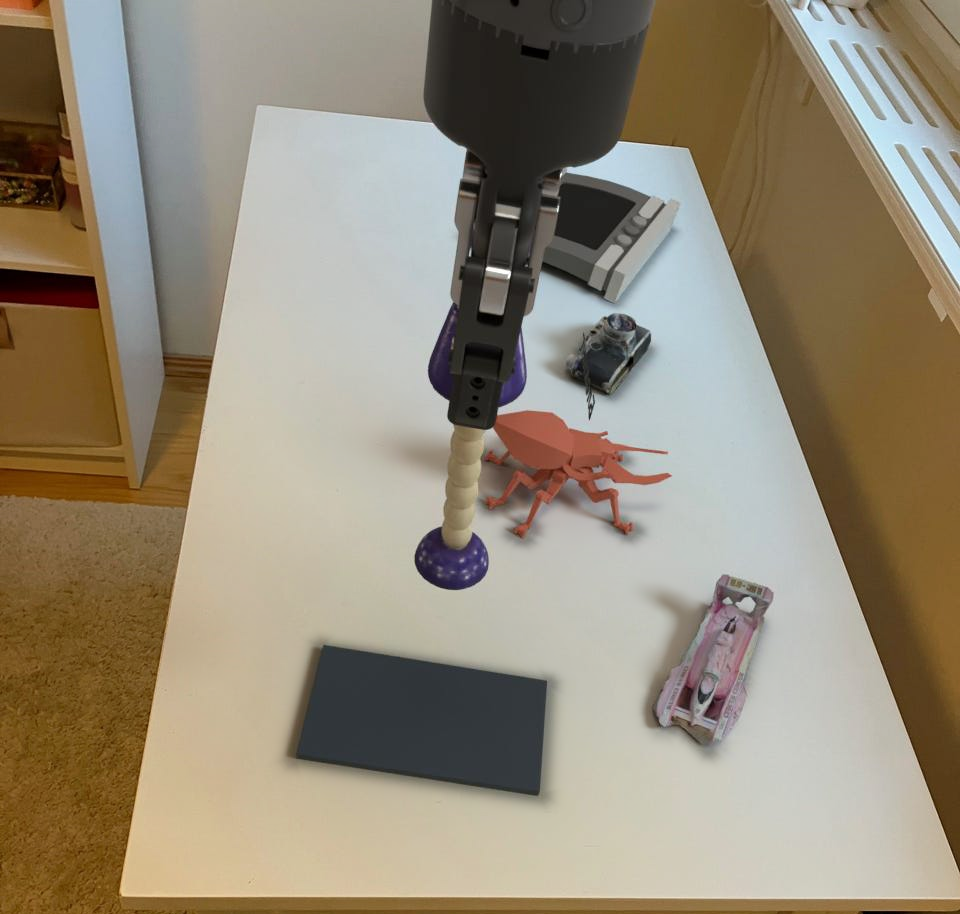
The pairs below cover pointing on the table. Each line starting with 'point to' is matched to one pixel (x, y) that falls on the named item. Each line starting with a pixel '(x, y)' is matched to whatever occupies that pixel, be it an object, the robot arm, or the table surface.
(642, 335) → the camera
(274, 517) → the table surface
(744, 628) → the boxed toy car
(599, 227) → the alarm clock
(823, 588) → the table surface
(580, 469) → the beetle
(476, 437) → the toy lamp
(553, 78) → the robot arm
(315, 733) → the mat
